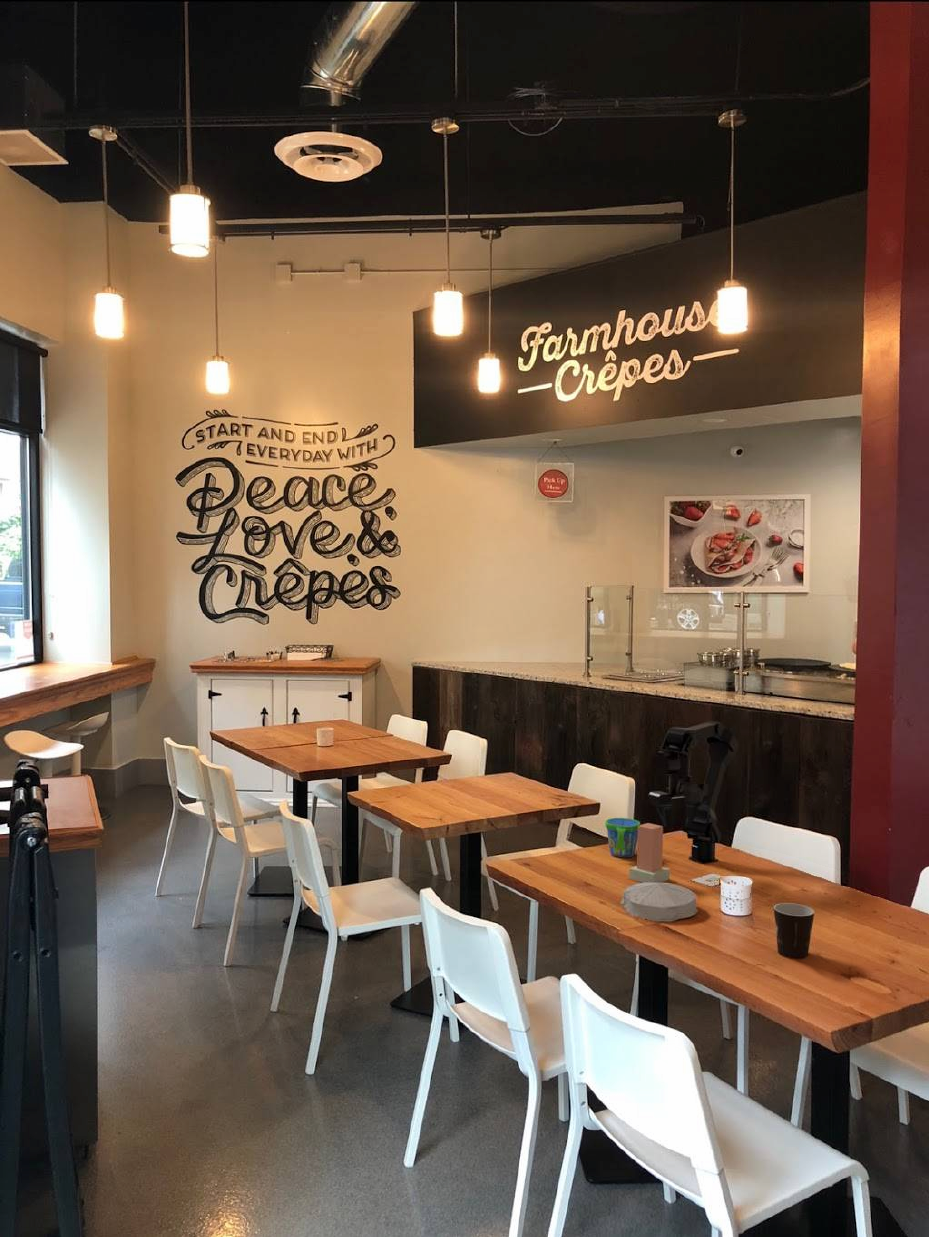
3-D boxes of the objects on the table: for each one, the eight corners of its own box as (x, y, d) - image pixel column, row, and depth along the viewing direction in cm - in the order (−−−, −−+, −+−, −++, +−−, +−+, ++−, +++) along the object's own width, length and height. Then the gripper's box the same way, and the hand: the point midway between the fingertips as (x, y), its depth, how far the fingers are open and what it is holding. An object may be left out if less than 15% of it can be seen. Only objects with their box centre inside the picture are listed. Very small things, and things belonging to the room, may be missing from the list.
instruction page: (712, 874, 275) (712, 873, 275) (733, 880, 270) (733, 879, 270) (690, 880, 269) (690, 879, 269) (711, 886, 263) (711, 885, 263)
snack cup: (635, 863, 285) (635, 829, 284) (599, 859, 288) (600, 825, 288) (643, 850, 299) (644, 817, 299) (610, 846, 303) (611, 814, 303)
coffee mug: (781, 943, 222) (782, 900, 222) (818, 952, 216) (819, 908, 216) (761, 957, 213) (762, 913, 213) (799, 968, 207) (801, 922, 207)
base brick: (645, 873, 275) (645, 862, 275) (669, 879, 269) (669, 868, 269) (629, 878, 270) (629, 868, 269) (653, 885, 264) (653, 874, 264)
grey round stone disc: (714, 919, 239) (715, 892, 239) (643, 926, 233) (644, 898, 233) (673, 895, 258) (674, 870, 258) (606, 900, 252) (606, 875, 252)
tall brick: (647, 864, 273) (648, 822, 273) (662, 868, 269) (663, 826, 269) (636, 868, 269) (637, 825, 269) (651, 872, 266) (652, 829, 265)
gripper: (673, 779, 266) (672, 835, 266) (723, 774, 275) (722, 828, 276) (647, 772, 276) (646, 826, 276) (696, 767, 285) (694, 819, 285)
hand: (678, 825), depth 278 cm, fingers open, 9 cm apart
